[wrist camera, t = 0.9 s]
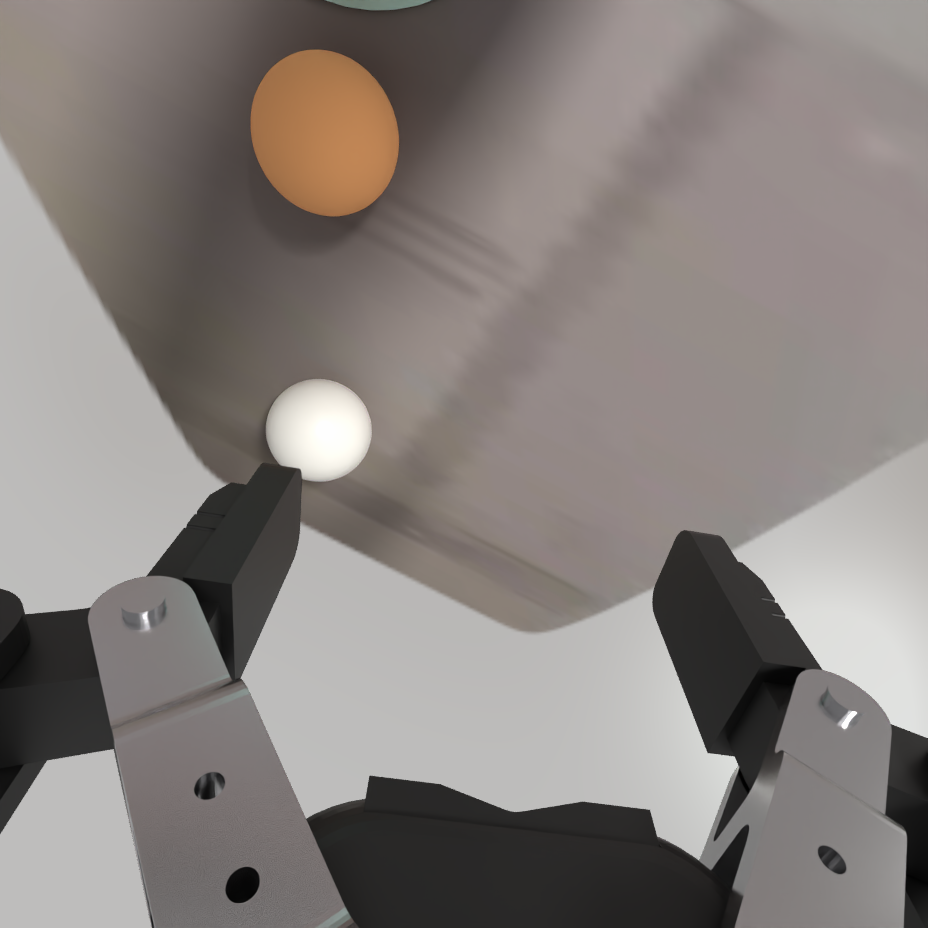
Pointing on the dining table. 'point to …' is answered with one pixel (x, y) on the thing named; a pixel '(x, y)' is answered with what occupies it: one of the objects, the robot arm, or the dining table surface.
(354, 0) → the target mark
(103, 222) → the dining table surface
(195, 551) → the robot arm
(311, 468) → the cue ball
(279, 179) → the orange ball
